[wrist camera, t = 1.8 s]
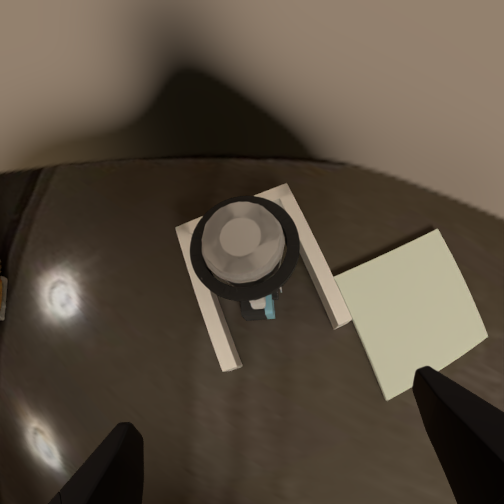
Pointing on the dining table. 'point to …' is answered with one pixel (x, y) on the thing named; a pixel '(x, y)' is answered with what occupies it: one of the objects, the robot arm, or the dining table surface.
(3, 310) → the decorative figurine
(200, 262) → the push button
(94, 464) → the robot arm
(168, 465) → the dining table surface
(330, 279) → the white u-shaped bracket
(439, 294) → the mat
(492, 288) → the dining table surface
